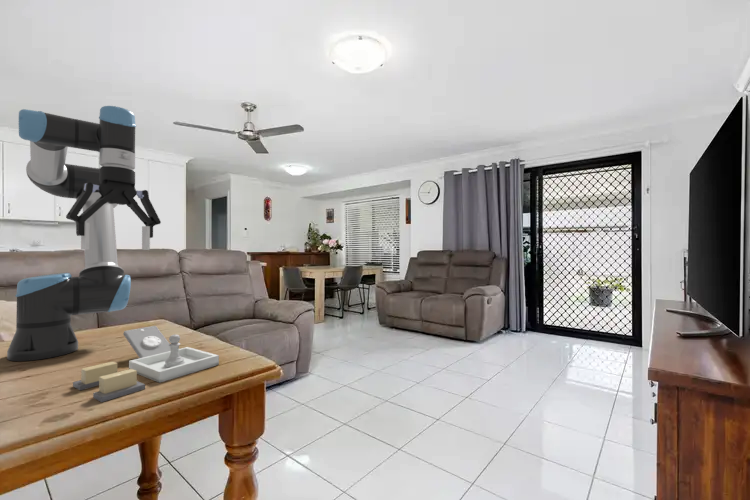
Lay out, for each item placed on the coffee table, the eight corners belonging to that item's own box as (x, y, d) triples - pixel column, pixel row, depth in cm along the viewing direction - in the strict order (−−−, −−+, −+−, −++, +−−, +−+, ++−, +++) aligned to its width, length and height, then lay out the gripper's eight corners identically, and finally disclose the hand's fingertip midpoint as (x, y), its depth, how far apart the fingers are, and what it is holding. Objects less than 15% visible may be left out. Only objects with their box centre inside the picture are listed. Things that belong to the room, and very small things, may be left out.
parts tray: (129, 370, 88) (129, 360, 88) (187, 355, 100) (187, 346, 100) (159, 382, 80) (159, 371, 80) (218, 364, 92) (218, 355, 92)
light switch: (147, 360, 91) (124, 328, 97) (141, 378, 92) (119, 344, 99) (179, 352, 98) (156, 322, 105) (174, 368, 100) (151, 338, 106)
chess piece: (160, 365, 90) (160, 334, 90) (180, 360, 94) (180, 331, 94) (168, 369, 87) (168, 337, 87) (188, 364, 91) (188, 333, 91)
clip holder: (72, 386, 77) (73, 368, 77) (114, 375, 84) (114, 359, 84) (101, 402, 69) (101, 382, 69) (145, 388, 76) (145, 370, 76)
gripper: (60, 155, 78) (60, 249, 78) (174, 175, 99) (174, 249, 99) (49, 159, 82) (48, 249, 82) (160, 178, 103) (160, 249, 103)
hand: (117, 249), depth 90 cm, fingers open, 13 cm apart
